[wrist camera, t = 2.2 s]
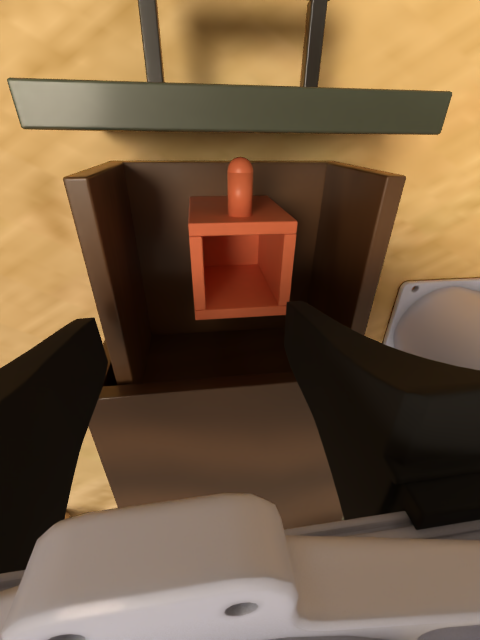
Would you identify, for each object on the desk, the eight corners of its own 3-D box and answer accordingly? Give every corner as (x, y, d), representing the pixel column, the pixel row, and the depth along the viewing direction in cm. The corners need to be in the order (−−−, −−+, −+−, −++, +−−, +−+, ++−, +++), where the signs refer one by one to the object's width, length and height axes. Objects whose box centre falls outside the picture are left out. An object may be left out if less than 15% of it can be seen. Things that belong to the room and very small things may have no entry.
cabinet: (120, 302, 21) (78, 400, 13) (325, 292, 23) (393, 374, 15) (150, 441, 29) (134, 555, 21) (302, 426, 30) (340, 526, 23)
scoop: (263, 267, 19) (288, 315, 14) (194, 270, 18) (195, 320, 14) (269, 151, 16) (304, 159, 11) (186, 150, 15) (183, 159, 10)
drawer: (57, -31, 12) (-79, -196, 6) (373, -9, 14) (518, -123, 8) (133, 337, 22) (109, 419, 15) (317, 325, 23) (363, 396, 17)
